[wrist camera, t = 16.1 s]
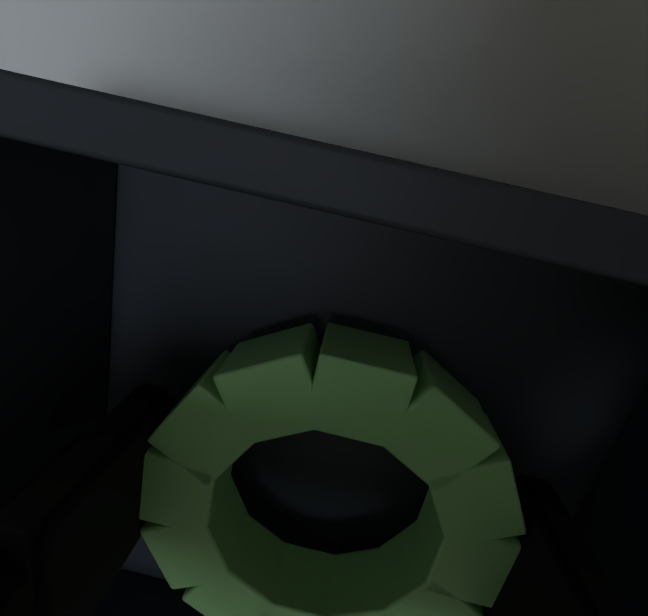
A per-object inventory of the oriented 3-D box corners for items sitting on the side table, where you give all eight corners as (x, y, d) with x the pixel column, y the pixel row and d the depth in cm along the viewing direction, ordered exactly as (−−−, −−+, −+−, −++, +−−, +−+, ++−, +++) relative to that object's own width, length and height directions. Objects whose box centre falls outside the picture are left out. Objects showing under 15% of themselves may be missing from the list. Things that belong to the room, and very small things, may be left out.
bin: (103, 103, 9) (-154, 33, 4) (736, 246, 8) (1126, 324, 4) (88, 559, 13) (-47, 746, 9) (502, 667, 13) (571, 917, 8)
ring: (190, 288, 8) (151, 313, 7) (550, 373, 8) (592, 419, 7) (160, 554, 11) (127, 615, 9) (437, 624, 11) (450, 699, 9)
